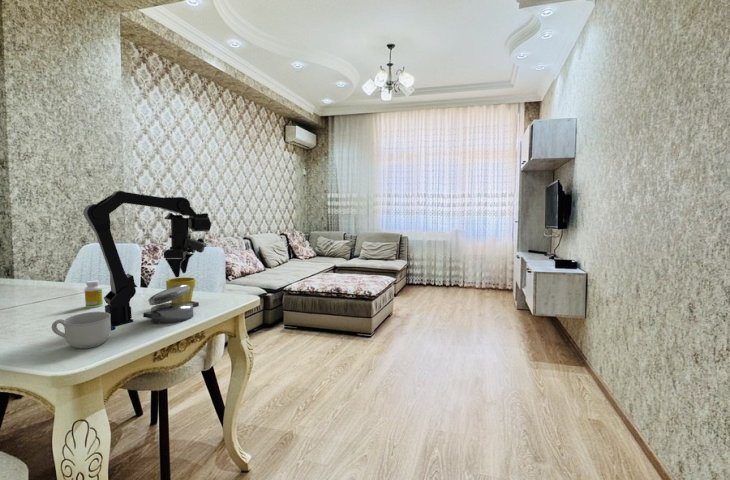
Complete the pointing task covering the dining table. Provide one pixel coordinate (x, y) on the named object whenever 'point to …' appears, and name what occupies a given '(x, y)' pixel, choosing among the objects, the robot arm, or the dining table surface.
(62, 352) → the dining table surface
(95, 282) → the supplement bottle
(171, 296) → the cooker lid
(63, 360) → the dining table surface
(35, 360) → the dining table surface
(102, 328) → the teacup
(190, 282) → the plant pot
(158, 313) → the cooker pot
